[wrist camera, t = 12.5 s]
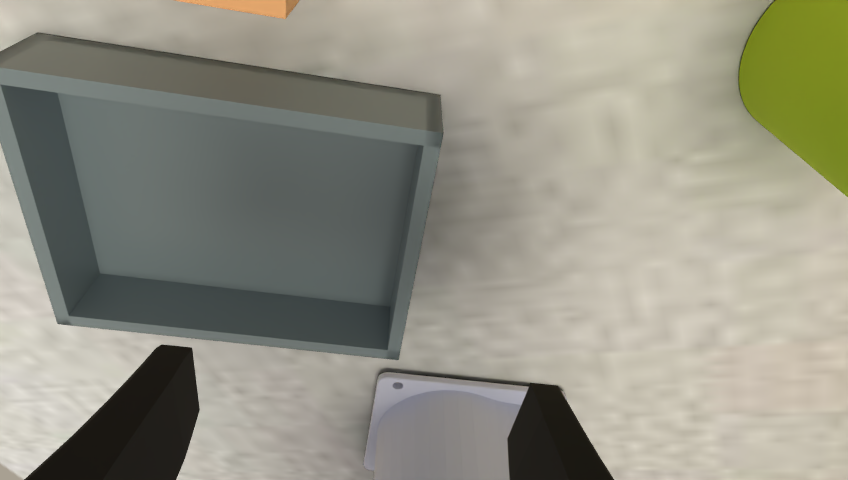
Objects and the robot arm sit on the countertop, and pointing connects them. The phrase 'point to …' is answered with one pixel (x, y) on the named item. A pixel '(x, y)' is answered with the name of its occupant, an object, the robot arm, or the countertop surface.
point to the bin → (218, 195)
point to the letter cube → (252, 6)
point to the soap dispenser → (802, 81)
